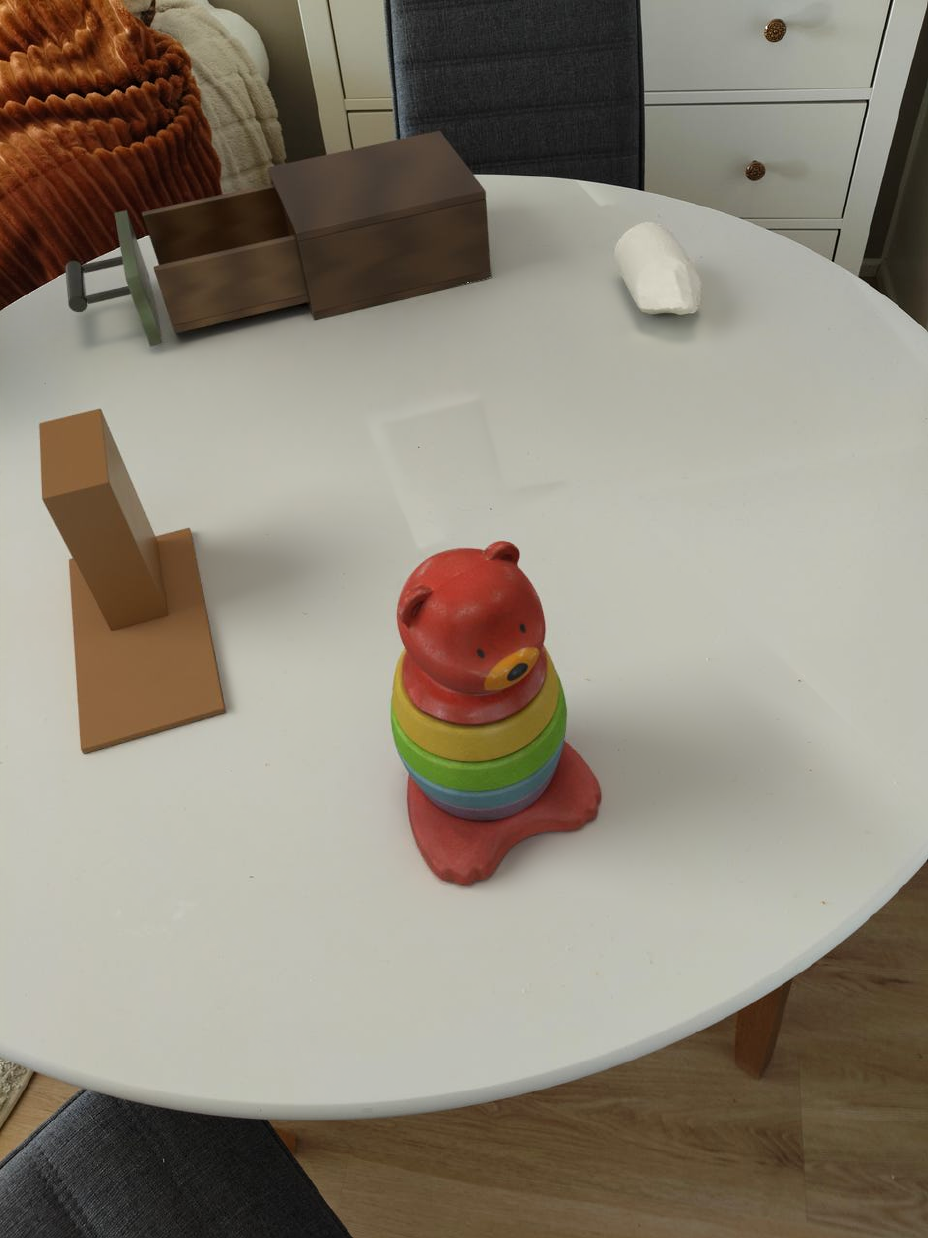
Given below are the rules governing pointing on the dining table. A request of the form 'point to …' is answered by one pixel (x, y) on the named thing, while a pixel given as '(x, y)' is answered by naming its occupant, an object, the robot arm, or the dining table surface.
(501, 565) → the stacking bear
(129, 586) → the upright tan wooden block
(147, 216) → the drawer
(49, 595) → the dining table surface
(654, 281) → the roll
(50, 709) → the dining table surface
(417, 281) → the cabinet
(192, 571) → the mat
